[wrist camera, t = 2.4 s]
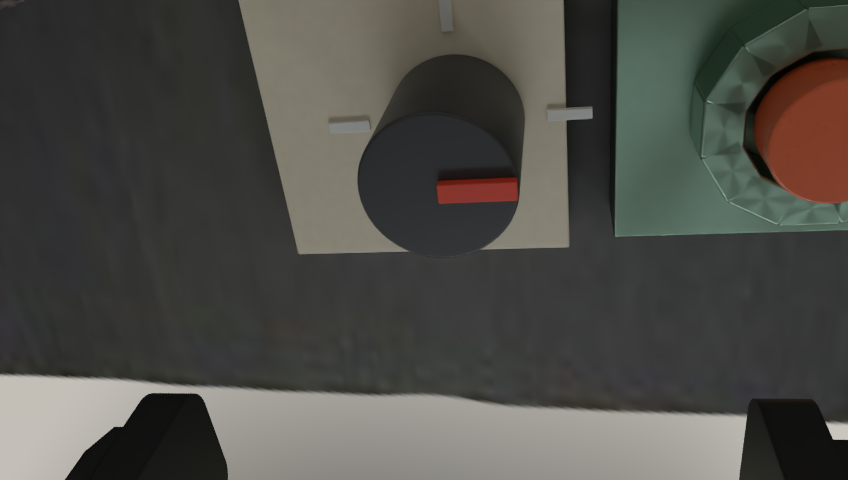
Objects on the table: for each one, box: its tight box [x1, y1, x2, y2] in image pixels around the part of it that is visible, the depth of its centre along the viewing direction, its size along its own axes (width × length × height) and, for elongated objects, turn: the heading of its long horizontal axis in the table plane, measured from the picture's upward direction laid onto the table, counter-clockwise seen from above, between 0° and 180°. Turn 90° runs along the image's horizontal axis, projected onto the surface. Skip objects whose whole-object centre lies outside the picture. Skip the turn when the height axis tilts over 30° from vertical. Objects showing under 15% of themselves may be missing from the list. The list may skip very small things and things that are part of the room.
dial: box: [357, 54, 525, 258], centre depth 22 cm, size 4×4×5 cm
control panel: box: [238, 0, 592, 254], centre depth 25 cm, size 11×10×2 cm
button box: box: [610, 0, 848, 237], centre depth 22 cm, size 11×9×4 cm
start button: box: [753, 57, 848, 204], centre depth 20 cm, size 4×4×2 cm
